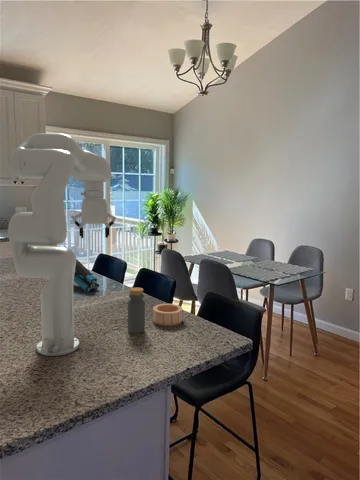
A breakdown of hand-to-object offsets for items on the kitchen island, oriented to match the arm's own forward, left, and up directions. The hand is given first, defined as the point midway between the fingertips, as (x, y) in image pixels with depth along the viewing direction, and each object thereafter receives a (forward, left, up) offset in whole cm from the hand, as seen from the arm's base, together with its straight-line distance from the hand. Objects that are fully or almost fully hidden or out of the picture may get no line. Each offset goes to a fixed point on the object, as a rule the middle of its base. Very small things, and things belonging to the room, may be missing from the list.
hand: (94, 237), depth 151 cm
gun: (+30, +14, -29) cm, 44 cm away
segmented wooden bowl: (-16, -30, -29) cm, 45 cm away
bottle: (-26, -19, -29) cm, 43 cm away
